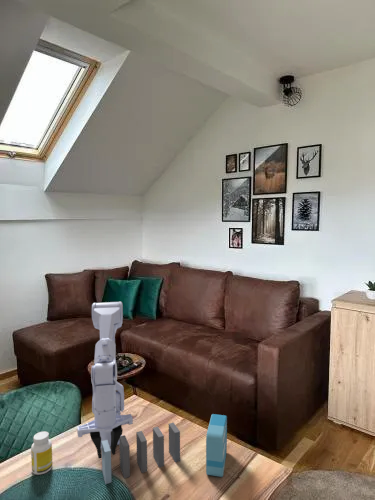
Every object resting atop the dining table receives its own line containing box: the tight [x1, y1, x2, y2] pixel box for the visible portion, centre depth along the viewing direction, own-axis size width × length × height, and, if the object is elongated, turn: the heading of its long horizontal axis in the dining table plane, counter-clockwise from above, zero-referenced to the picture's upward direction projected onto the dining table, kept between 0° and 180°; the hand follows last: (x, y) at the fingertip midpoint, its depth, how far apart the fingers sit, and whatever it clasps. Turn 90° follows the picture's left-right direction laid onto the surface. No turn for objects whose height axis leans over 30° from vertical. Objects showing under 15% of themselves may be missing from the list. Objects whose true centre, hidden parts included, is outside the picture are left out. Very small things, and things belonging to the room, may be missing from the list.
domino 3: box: [152, 426, 165, 468], centre depth 100 cm, size 5×2×9 cm, turn 24°
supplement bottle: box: [30, 430, 53, 475], centre depth 97 cm, size 5×5×10 cm
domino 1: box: [118, 434, 131, 479], centre depth 95 cm, size 5×2×9 cm, turn 24°
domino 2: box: [135, 430, 148, 474], centre depth 97 cm, size 5×2×9 cm, turn 24°
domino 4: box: [168, 422, 181, 463], centre depth 102 cm, size 5×2×9 cm, turn 24°
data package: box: [205, 413, 228, 478], centre depth 98 cm, size 12×4×12 cm, turn 168°
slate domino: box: [101, 440, 113, 485], centre depth 93 cm, size 5×2×9 cm, turn 24°
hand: (106, 454), depth 93 cm, fingers open, 3 cm apart
